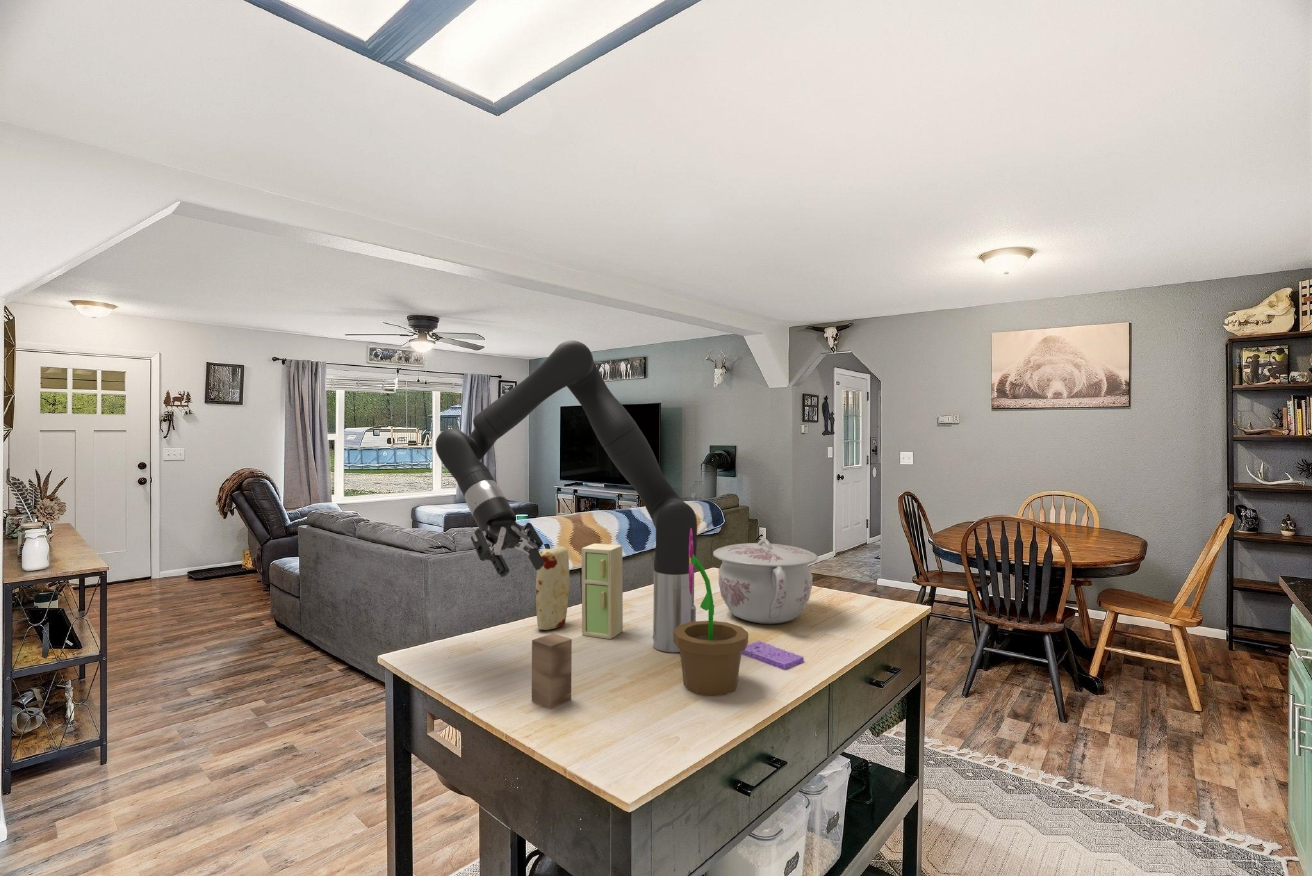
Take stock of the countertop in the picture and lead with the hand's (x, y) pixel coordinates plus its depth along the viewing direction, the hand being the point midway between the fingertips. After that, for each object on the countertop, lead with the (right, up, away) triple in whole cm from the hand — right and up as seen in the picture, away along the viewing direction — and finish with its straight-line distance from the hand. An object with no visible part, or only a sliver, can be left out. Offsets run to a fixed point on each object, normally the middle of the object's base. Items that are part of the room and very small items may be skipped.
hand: (523, 570), depth 122 cm
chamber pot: (+54, -21, +42) cm, 72 cm away
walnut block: (+7, -21, -10) cm, 24 cm away
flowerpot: (+36, -22, -2) cm, 42 cm away
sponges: (+51, -22, +13) cm, 57 cm away
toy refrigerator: (+13, -21, +27) cm, 37 cm away
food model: (0, -21, +32) cm, 38 cm away
